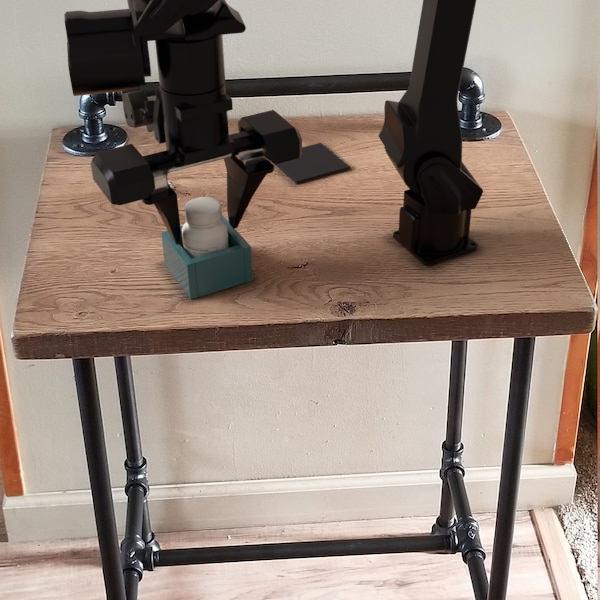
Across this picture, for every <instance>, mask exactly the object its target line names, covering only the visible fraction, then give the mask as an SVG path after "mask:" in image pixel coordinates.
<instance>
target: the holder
mask: <svg viewBox="0 0 600 600" xmlns="http://www.w3.org/2000/svg"><path fill="white" fill-rule="evenodd" d="M221 219H222V220H223V221H224V222H225V223H226V225H227V230H228V244H229V248H227V249H223V250H220V251H217V252H213V253H210V254H206V255H203V256H199V257H196V258H193V259H191V258H190V256H189V255H188V254H187V253H186V251H185V250H184V249H183V240H182V227H183V225H182V226H180V227H181V243H180V244H179V245H176V244H175V243H174V241H173V240H172V238H171V236H170V234H169V232H168V230H165V231H162V232H160V236H161V243H162V253H163V261H164V267H165V268H166V269H167V271H168V273H170V275H171V276H172V278H173V279H174V280H175V281H176V282H177V284H178V285H179V287H180V288H181V290H182V291H183V292H184V293H185V295H187V297H188V298H189V299H190V300H194V299H197V298H200V297H204V296H207V295H210V294H213V293H217V292H220V291H224V290H226V289H229V288H233V287H236V286H239V285H242V284H245V283H250V282H252V281H253V280H254V278H253V277H254V276H253V260H252V258H253V257H252V246H251V244H250V243H249V242H248V241H247V240H246V239H245V238H244V237H243V236H242V235H241V233H240V232H238V230H237V228H235V229H233V228H232V227H231V226H230V224H229V220H228V219H226V217H225V216H224V215H223V214H222V218H221Z"/></svg>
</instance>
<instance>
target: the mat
mask: <svg viewBox="0 0 600 600" xmlns="http://www.w3.org/2000/svg"><path fill="white" fill-rule="evenodd" d="M274 166H276V167H277V168H278V169H280V170H281V172H283V173H284V174H285V175H286V177H288V178H289V179H291V181H292V182H294V183H295V184H296V185H299V184H302V183H305V182H310V181H313V180H317V179H321V178H324V177H329V176H331V175H335V174H339V173H343V172H346V171H349V170H350V169H351V166H349V164H347V163H346V162H345V161H343V160H342V159H341V158H340V157H338V155H336V154H335V153H334V152H333V151H332V150H330V149H329V148H328V147H326V146H325V145H324V144H322V142H318V143H315V144H310V145H307V146H302V155H301V157H300V158H298V159H294V160H290V161H287V162H283V163H279V164H274Z"/></svg>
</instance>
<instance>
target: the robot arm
mask: <svg viewBox="0 0 600 600" xmlns="http://www.w3.org/2000/svg"><path fill="white" fill-rule="evenodd" d="M126 2H127V7H128V8H123V9H122V8H121V9H111V10H98V11H86V10H72V11H71V10H70V11H66V12H65V13H64V14H63V15H64V17H63V18H64V26H65V33H66V41H67V42H66V50H67V51H66V53H67V66H68V74H69V79H70V80H69V81H70V86H71V91H72V95H73V97H77V96H79V97H81V96H88V95H98V94H108V93H110V94H111V93H119V92H124V93H122V94H121V97H122V109H123V113H124V118H125V122H126V124H127V126H128V127H129V128H134V129H136V128H141V127H146V132H147V133H152V132H153V133H154V139H155V140H156V141H157V143H158V144H165V149H166V150H163V151H158V152H154V153H150V154H147V155H143V154H141V152H140V151H139V150H138V149H137V148H136V147H135V146H134V144H133V143H129V144H124V145H120V146H117V147H112V148H108V149H104V150H100V151H96V152H95V154H94V155H93V158H92V159H91V162H90V168H91V174H92V175H91V176H92V180H93V181H94V183H95V184H96V186H97V187H98V188H99V189H100V191H101V192H102V193H103V195H104V196H105V197H106V198H107V200H108V201H109V203H110V204H111V205H114V206H115V205H116V206H123V205H127V204H131V203H135V202H138V201H142V203H143V204H144V205H147V206H153V205H154V207H155V208H156V210H157V213H158V215H159V216H160V218H161V220H162V222H163V224H164V226H165V228H166V231H168V232H169V234H170V236H171V238H172V240H173V241H174V243H175V244H176V245H179V244H180V243H181V227H182V226H181V220H180V219H181V218H180V211H179V201H178V194H177V192H176V191H175V190H174V189H173V188H172V186H170V184H169V180H168V175H169V174H170V173H175V172H179V171H181V170H185V169H189V168H193V167H197V166H201V165H206V164H210V163H214V162H218V161H220V160H223V161H224V165H225V169H226V211H227V220H228V222H229V224H230V226H231V227H232V228H233V229H238V227H239V225H240V223H241V221H242V219H243V217H244V215H245V213H246V211H247V208H248V207H249V205H250V203H251V201H252V200H253V199H252V198H253V197H254V195H255V193H256V192H257V190H258V188H259V187H260V185H261V184H262V182H263V181H264V179H265V178H266V176H267V175H268V174H272V173H273V172H274V171H275V164H279V163H283V162H287V161H290V160H294V159H298V158H300V157H301V155H302V147H303V138H302V135H301V133H300V130H299V129H298V128H297V127H295V126H294V125H292V123H290V122H289V121H288V120H287V119H285V118H284V117H283V116H282V115H281V114H279V113H278V112H277V111H275V110H274V109H271V110H267V111H266V110H265V111H263V112H257V113H254V114H250V115H246V116H242V117H241V118H240V119H239V120H238V122H237V129H234V130H231V131H229V117H228V116H229V115H228V112H230V111H233V110H234V109H233V98H232V97H230V96H229V95H228V94H227V85H226V69H225V56H224V55H225V54H224V53H225V52H224V38H223V36H224V35H232V34H233V35H235V34H243V33H245V31H246V29H247V27H246V24H245V23H244V20H243V18H242V16H241V13H240V12H239V11H238V10H236V9H234V8H233V7H232V6H230V5H229V4H228V2H227V0H126ZM476 4H477V0H423V1H422V6H421V12H420V18H419V23H418V31H417V36H416V43H415V48H414V55H413V60H412V67H411V73H410V79H409V85H408V88H407V89H406V91H405V92H404V94H403V95H402V97H401V98H400V99H399V100H398V101H394V100H389V99H388V100H385V102H384V121H383V125H382V128H381V130H380V132H379V134H378V138H379V140H380V141H381V143H382V144H383V146H384V151H385V153H386V155H387V157H388V159H389V161H391V163H392V165H393V166H394V168H395V170H396V172H397V174H398V175H399V176H400V178H401V180H402V182H403V183H404V184H405V186H406V187H407V188H408V189H406V190H404V191H403V202H402V203H403V205H402V206H400V208H399V217H398V230H395V231H393V232H392V238H393V239H394V240H395V241H396V242H397V243H398V244H399V245H401V247H403V248H405V250H407V251H408V252H409V253H410V254H411V255H412V256H413V257H414V258H415V259H417V260H418V261H419V262H420V263H422V264H423V265H424V266H432V265H435V264H438V263H441V262H445V261H447V260H450V259H453V258H456V257H459V256H462V255H466V254H468V253H472V252H475V251H477V250H478V248H479V244H478V243H477V242H476V241H475V240H473V238H471V237H470V231H471V230H470V229H471V219H472V210H475V209H476V208H477V206H478V205H479V202H480V200H481V198H482V196H483V194H484V189H483V188H482V187H481V185H480V184H479V183H478V181H477V180H476V178H475V177H474V176H473V174H472V173H471V172H470V170H469V169H468V168H467V166H466V165H465V163H464V162H463V133H462V126H461V119H460V113H459V107H458V106H459V105H458V99H459V98H458V96H459V92H460V88H461V82H462V78H463V77H462V76H463V72H464V66H465V60H466V56H467V51H468V45H469V41H470V35H471V30H472V26H473V20H474V14H475V11H476ZM153 41H154V43H155V53H156V54H155V55H156V63H157V72H158V73H157V74H158V82H159V86H155V95H150V96H148V95H147V92H146V91H145V90H140V86H146V78H149V77H152V67H151V60H150V52H149V51H150V50H149V42H153Z"/></svg>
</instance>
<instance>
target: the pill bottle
mask: <svg viewBox="0 0 600 600" xmlns="http://www.w3.org/2000/svg"><path fill="white" fill-rule="evenodd" d="M222 215H223V211H222V204H221V202H220V201H219V200H218V199H216V198H214V197H211V196H200V197H195V198H192V199H190V200H188V201H187V202H186V203H185V205H184V217H185V222H184V224H183V225H182V226H183V227H182V226H181V227H182V240H183V249H184V250H185V251H186V253H187V254H188V255H189V256H190V258H191V259H193V258H196V257H199V256H203V255H206V254H210V253H213V252H217V251H220V250H223V249H227V248H229V244H228V230H227V225H226V223H225V222H224V221H223V220H222V219H221V218H222Z"/></svg>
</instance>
